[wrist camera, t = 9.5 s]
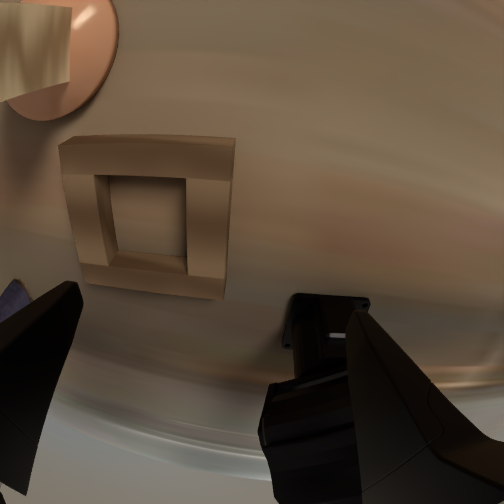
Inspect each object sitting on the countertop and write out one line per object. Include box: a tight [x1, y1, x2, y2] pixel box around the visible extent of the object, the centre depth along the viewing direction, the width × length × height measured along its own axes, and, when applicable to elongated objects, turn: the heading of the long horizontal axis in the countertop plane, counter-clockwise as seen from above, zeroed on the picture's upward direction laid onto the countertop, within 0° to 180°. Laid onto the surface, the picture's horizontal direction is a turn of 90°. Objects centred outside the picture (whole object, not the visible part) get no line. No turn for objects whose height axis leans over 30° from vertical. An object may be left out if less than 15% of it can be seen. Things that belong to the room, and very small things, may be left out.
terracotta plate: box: [6, 0, 119, 121], centre depth 14 cm, size 10×10×1 cm
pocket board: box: [58, 135, 236, 300], centre depth 20 cm, size 11×11×2 cm
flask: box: [0, 279, 33, 323], centre depth 24 cm, size 9×3×11 cm, turn 0°
